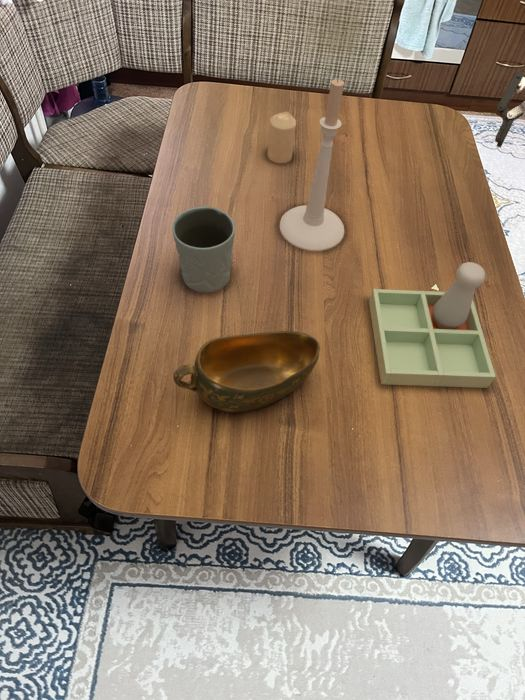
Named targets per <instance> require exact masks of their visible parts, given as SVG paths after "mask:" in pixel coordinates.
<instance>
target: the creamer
mask: <svg viewBox="0 0 525 700" xmlns="http://www.w3.org/2000/svg"><path fill="white" fill-rule="evenodd" d="M320 352H321V345H320V342H319V341H318V340H317V338H315V337H314V336H312V335H311V334H308V333H304V332H300V331H295V330H279V331H278V330H276V331H275V330H274V331H265V332H255V333H244V334H235V335H233V334H232V335H224V336H220V337H215V338H213V339H210V340H208V341H206V342H205V343H204V344H203V345H201V347H200V348H199V349H198V351H197V353H196V357H195V360H194V365H193V364H184V365H181V366H179V367H177V368H176V369H175V371H174V372H173V382H174V384H175V385H177V386H178V387H179V388H182V389H185V390H190V391H192V392H194V393H196V394H197V395H198V396H199V397H200V398H201V399H202V400H203V401H204V402H205V403H206V404H207V405H209V406H211V407H212V408H214V409H216V410H219V411H222V412H224V413H229V414H245V413H250V412H254V411H259V410H262V409H263V408H267V407H269V406H271V405H273V404H275V403H277V402H279V401H280V400H282V399H284V398H286V397H287V396H289V394H291V393H293V392H294V391H295V390H297V389H298V388H299V387H300V386H301V385H302V384H303V383H304V382H305V381H307V379H308V378H309V376H310V375H311V374H312V372H313V370H314V368H315V366H316V364H317V363H318V361H319V357H320ZM187 375H190V380H189V381H184V380H183V378H184V377H185V376H187Z"/></svg>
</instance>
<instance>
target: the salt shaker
mask: <svg viewBox="0 0 525 700" xmlns="http://www.w3.org/2000/svg"><path fill="white" fill-rule="evenodd" d="M486 274H487V273H486V271H485V269H484V268H483V267H482V266H481V265H480V264H478V263H476V262H471V261H467V262H463V263H461V265H459V267H458V268H457V269H456V271H455V276H454V277H455V280H454V281H453V283H452V284H451V285H450V286H449V288H447V290H446V291H444V292H445V293H444V294H443V296H442V297H441V298H440V299H439V300H438V301H437V302H436V304H435V305H434V308H433V320H434V322H435V323H436V325H437V326H438V328H441V329H449V330H452V329H454V328H456V327H459V326H461V325H462V324H463V323H464V322H465V321H466V320H467V318H468V314H469V311H470V307H471V304H472V300H473V301H474V296H475V292H476V290H477V288H479V287H480V286H481V285H482V284H484V282H485V280H486Z"/></svg>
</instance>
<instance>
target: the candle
mask: <svg viewBox="0 0 525 700" xmlns="http://www.w3.org/2000/svg"><path fill="white" fill-rule="evenodd" d="M268 128H269V130H268V142H267V158H268V160H270V161H271V162H273V163H275V164H286V163H289V162H290V161H291V160H292V159H293V152H294V145H295V137H296V128H297V120H296V118H294V116H293V115H292V114H291V113H290V112H289V111H282V112H279V113H276V114H274V115H272V116H271V117H270V119H269V127H268Z"/></svg>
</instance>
